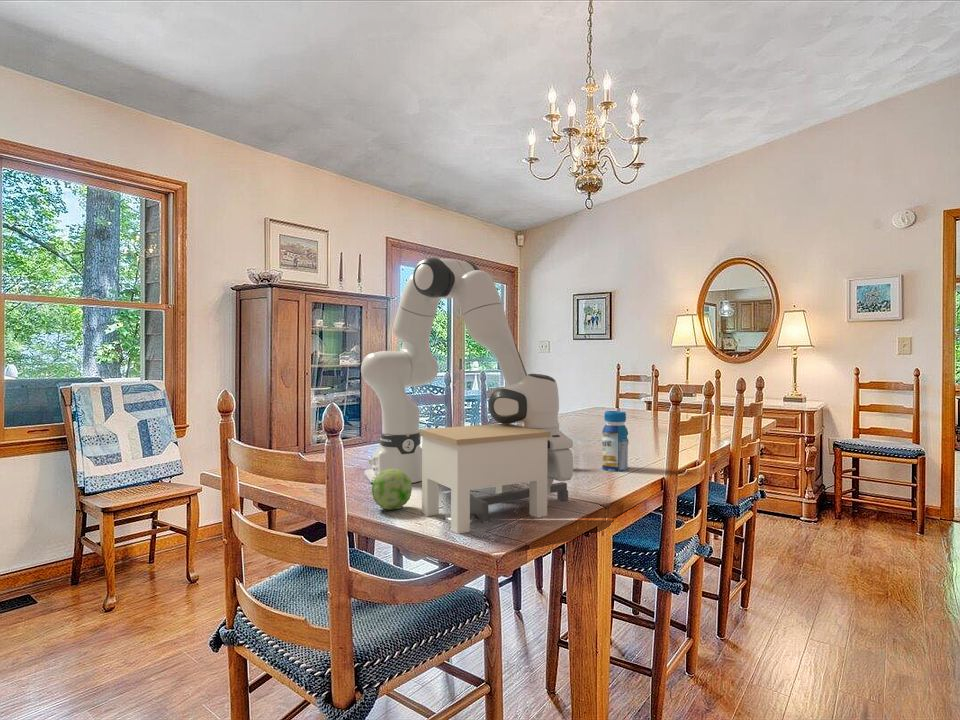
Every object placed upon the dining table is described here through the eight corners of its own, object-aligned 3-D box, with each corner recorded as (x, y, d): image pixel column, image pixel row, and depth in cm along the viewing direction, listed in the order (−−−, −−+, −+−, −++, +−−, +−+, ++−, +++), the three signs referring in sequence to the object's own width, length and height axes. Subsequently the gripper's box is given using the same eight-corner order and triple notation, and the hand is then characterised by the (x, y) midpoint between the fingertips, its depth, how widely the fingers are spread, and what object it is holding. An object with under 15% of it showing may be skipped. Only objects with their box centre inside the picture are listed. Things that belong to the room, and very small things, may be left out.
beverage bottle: (631, 476, 176) (631, 413, 175) (604, 476, 176) (604, 413, 175) (624, 470, 184) (624, 410, 184) (599, 470, 184) (599, 410, 184)
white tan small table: (419, 512, 134) (419, 429, 134) (505, 499, 147) (506, 423, 147) (456, 534, 118) (456, 439, 118) (550, 517, 131) (550, 431, 130)
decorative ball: (420, 508, 138) (420, 468, 138) (389, 517, 130) (389, 475, 130) (393, 501, 144) (393, 463, 144) (362, 509, 137) (363, 469, 137)
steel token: (439, 520, 129) (439, 515, 129) (464, 515, 133) (464, 510, 133) (455, 527, 124) (455, 522, 124) (481, 522, 128) (481, 517, 128)
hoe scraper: (482, 522, 127) (482, 503, 127) (463, 512, 135) (463, 495, 134) (576, 502, 141) (576, 486, 141) (554, 495, 148) (554, 479, 148)
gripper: (508, 434, 148) (509, 486, 148) (556, 444, 131) (557, 502, 131) (528, 432, 151) (528, 483, 151) (577, 441, 134) (577, 499, 134)
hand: (542, 492), depth 141 cm, fingers closed on hoe scraper, 2 cm apart
